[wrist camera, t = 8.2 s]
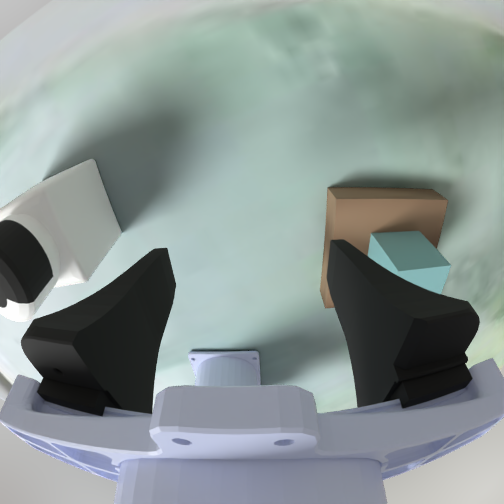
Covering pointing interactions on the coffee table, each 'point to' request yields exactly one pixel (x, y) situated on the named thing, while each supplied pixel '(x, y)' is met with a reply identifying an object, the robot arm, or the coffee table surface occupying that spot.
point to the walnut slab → (378, 218)
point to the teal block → (410, 258)
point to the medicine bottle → (53, 238)
